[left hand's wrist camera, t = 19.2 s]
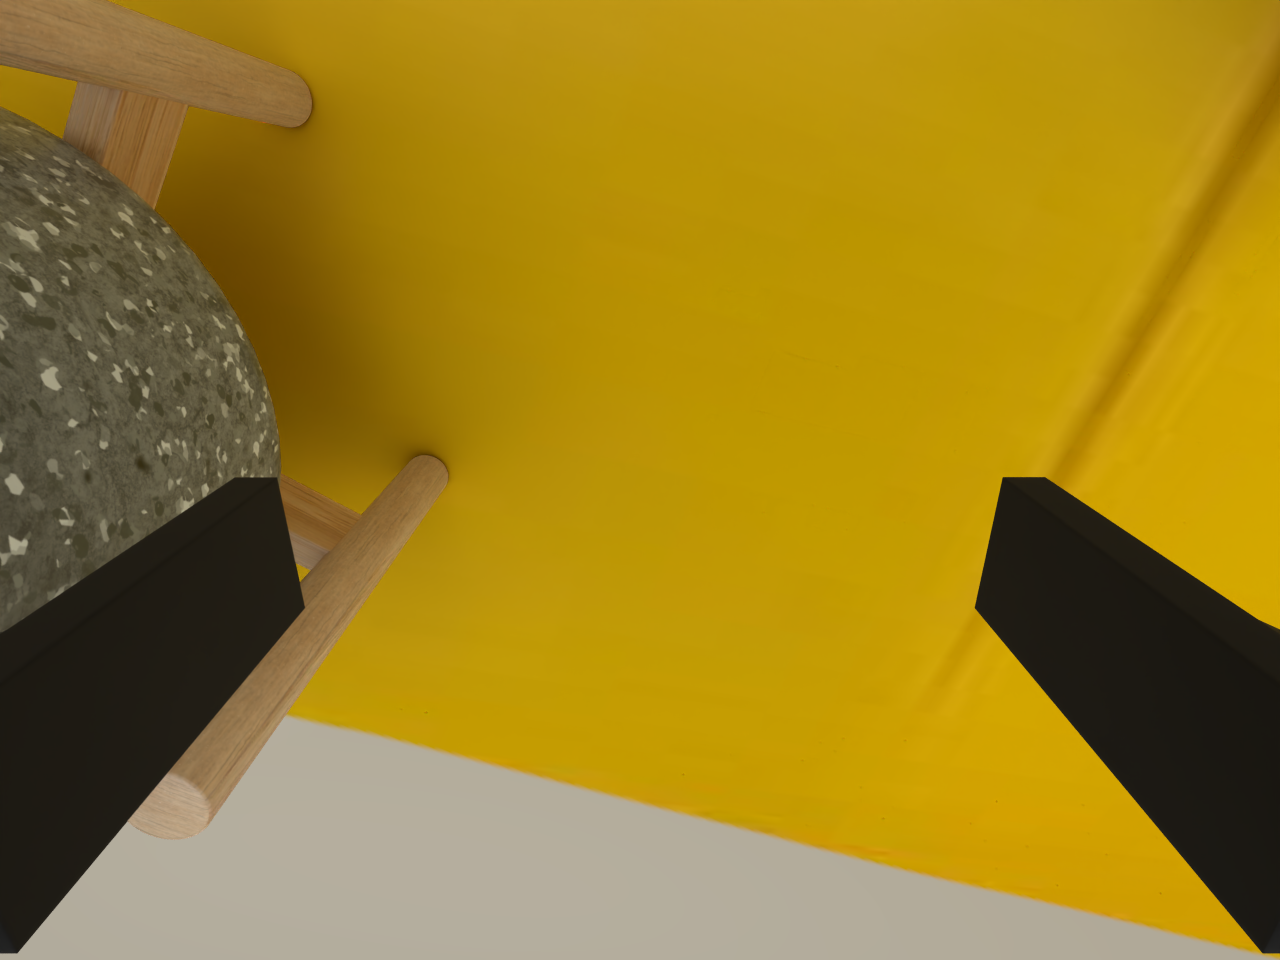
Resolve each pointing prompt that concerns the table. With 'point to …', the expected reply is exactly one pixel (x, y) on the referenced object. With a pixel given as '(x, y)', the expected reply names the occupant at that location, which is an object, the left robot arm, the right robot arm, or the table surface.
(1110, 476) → the table surface
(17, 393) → the planter
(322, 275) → the table surface
